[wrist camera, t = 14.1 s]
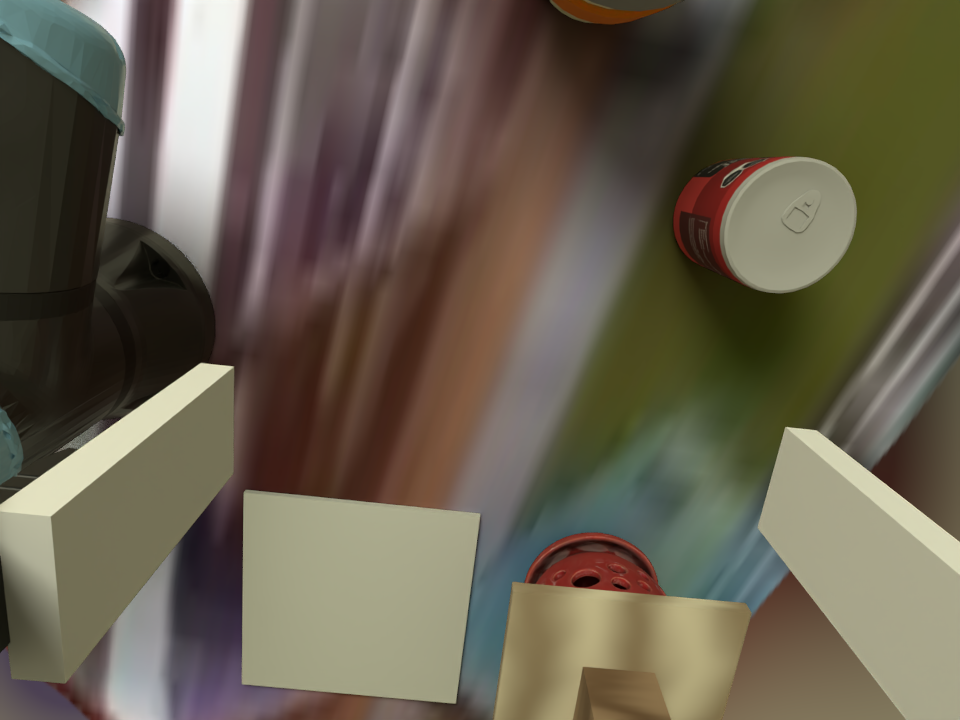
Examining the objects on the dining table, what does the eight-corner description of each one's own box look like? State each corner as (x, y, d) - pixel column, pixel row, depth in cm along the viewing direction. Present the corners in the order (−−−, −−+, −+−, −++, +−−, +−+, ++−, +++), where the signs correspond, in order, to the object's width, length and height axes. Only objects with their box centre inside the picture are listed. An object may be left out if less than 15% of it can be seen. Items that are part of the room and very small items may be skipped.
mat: (243, 680, 60) (241, 684, 59) (245, 489, 54) (243, 492, 54) (455, 699, 61) (455, 703, 60) (480, 513, 55) (480, 516, 54)
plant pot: (520, 512, 55) (531, 603, 43) (671, 526, 55) (721, 620, 44) (502, 637, 59) (508, 752, 47) (643, 650, 59) (683, 766, 48)
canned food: (791, 176, 47) (882, 179, 36) (746, 280, 49) (820, 311, 38) (695, 144, 46) (759, 137, 36) (653, 250, 48) (702, 273, 38)
